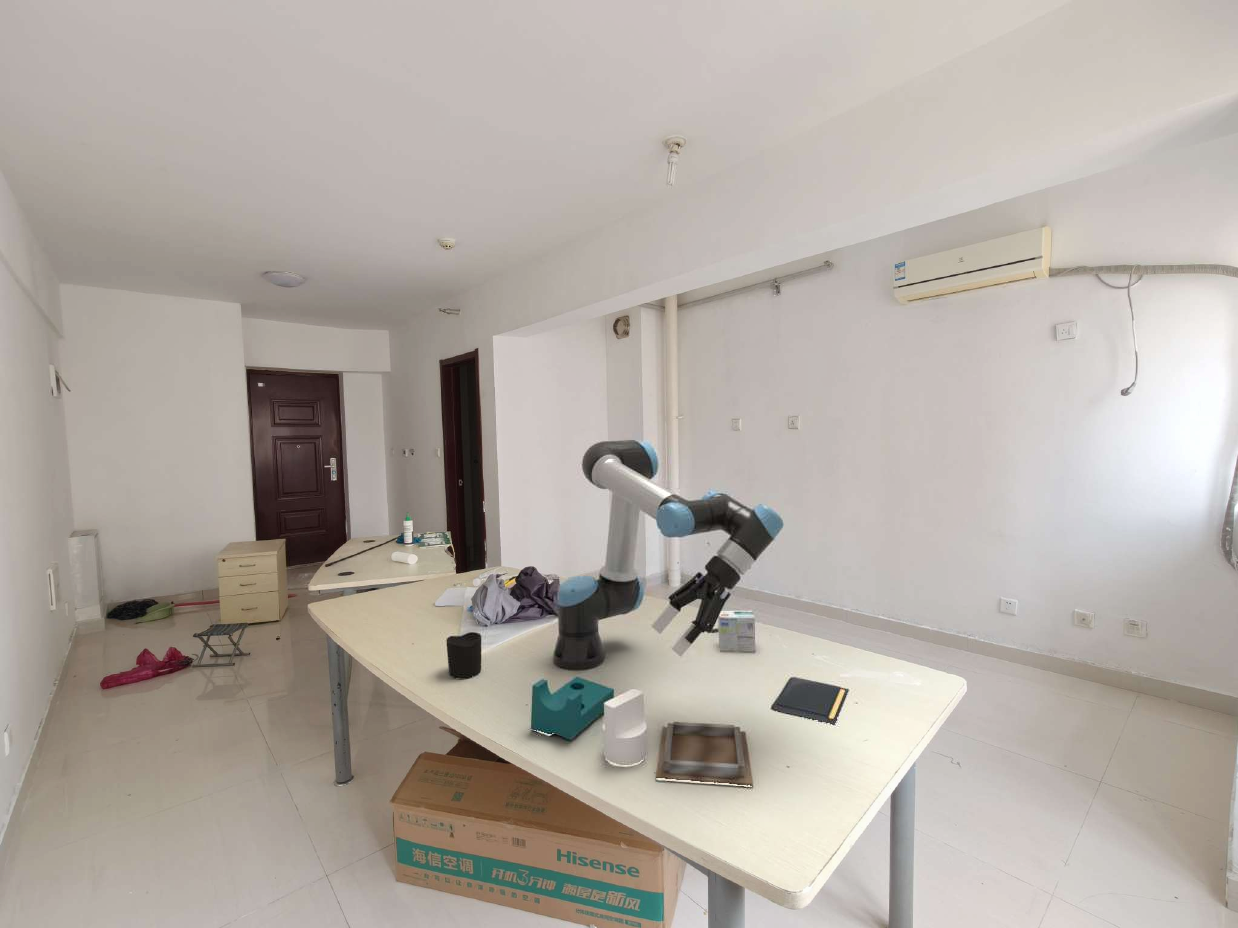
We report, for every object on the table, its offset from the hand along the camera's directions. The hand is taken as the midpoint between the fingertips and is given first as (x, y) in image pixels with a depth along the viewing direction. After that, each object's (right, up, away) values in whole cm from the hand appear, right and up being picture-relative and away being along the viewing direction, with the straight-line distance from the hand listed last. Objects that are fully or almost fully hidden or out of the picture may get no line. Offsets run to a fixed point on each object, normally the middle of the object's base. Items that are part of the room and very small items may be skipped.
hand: (664, 640), depth 119 cm
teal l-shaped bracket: (-20, -22, +11) cm, 32 cm away
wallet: (+37, -21, +17) cm, 46 cm away
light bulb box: (+26, -18, +50) cm, 59 cm away
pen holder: (-53, -21, +37) cm, 68 cm away
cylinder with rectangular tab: (-8, -22, -4) cm, 24 cm away
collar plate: (+8, -22, -6) cm, 24 cm away
